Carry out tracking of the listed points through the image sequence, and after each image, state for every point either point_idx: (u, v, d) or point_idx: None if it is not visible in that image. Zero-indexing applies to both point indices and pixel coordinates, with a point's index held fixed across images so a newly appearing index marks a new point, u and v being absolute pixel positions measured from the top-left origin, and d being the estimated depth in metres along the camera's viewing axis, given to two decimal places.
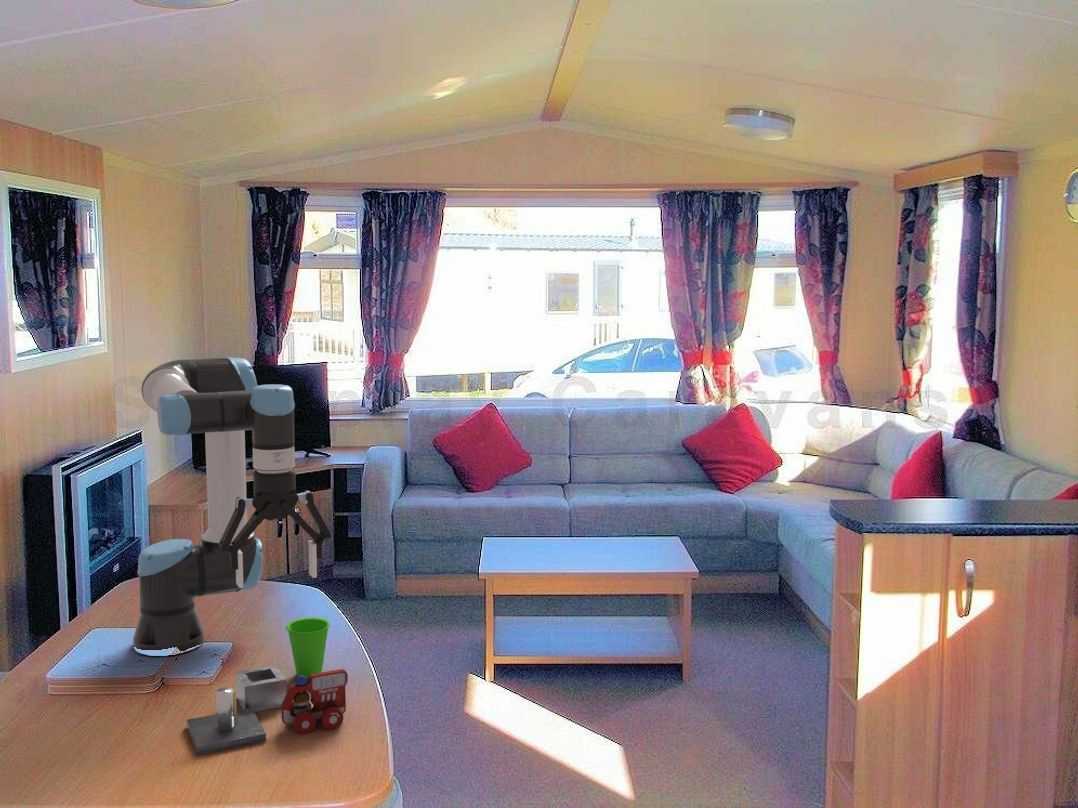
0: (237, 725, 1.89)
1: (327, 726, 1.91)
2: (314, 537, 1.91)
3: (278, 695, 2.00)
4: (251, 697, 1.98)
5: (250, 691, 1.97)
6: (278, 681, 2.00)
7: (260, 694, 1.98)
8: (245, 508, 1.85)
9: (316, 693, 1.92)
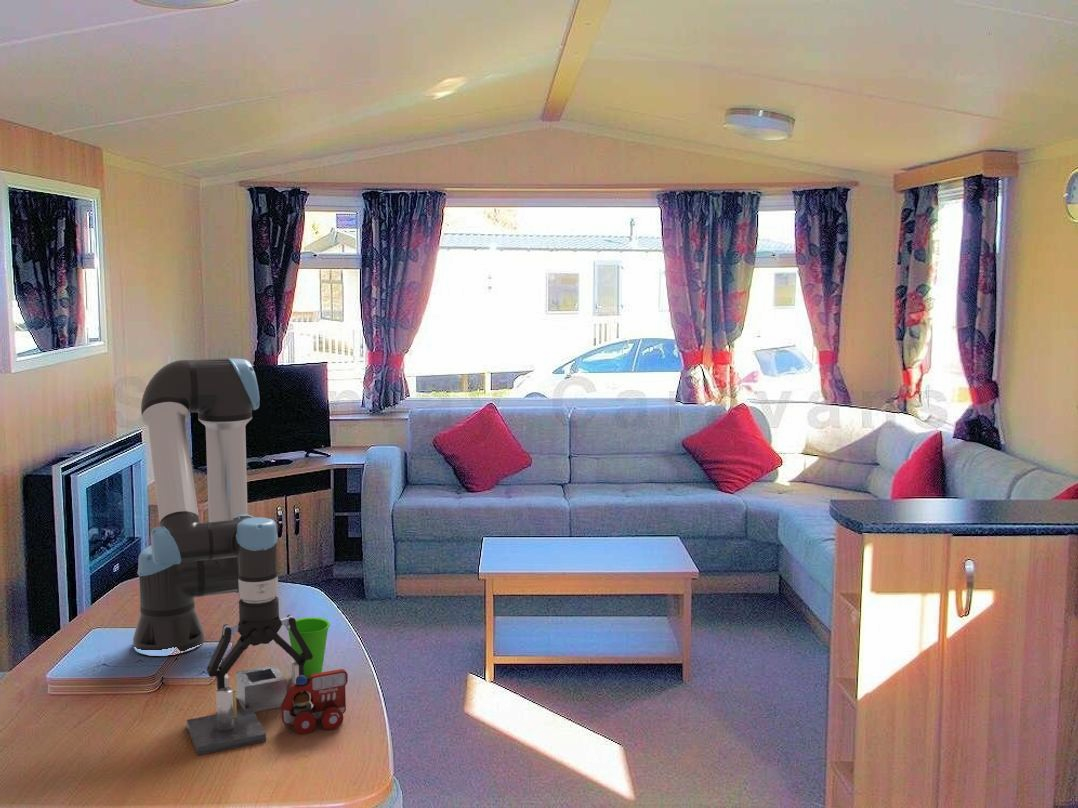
0: (237, 725, 1.89)
1: (327, 726, 1.91)
2: (296, 659, 2.04)
3: (278, 695, 2.00)
4: (251, 697, 1.98)
5: (250, 691, 1.97)
6: (278, 681, 2.00)
7: (260, 694, 1.98)
8: (231, 636, 1.97)
9: (316, 693, 1.92)
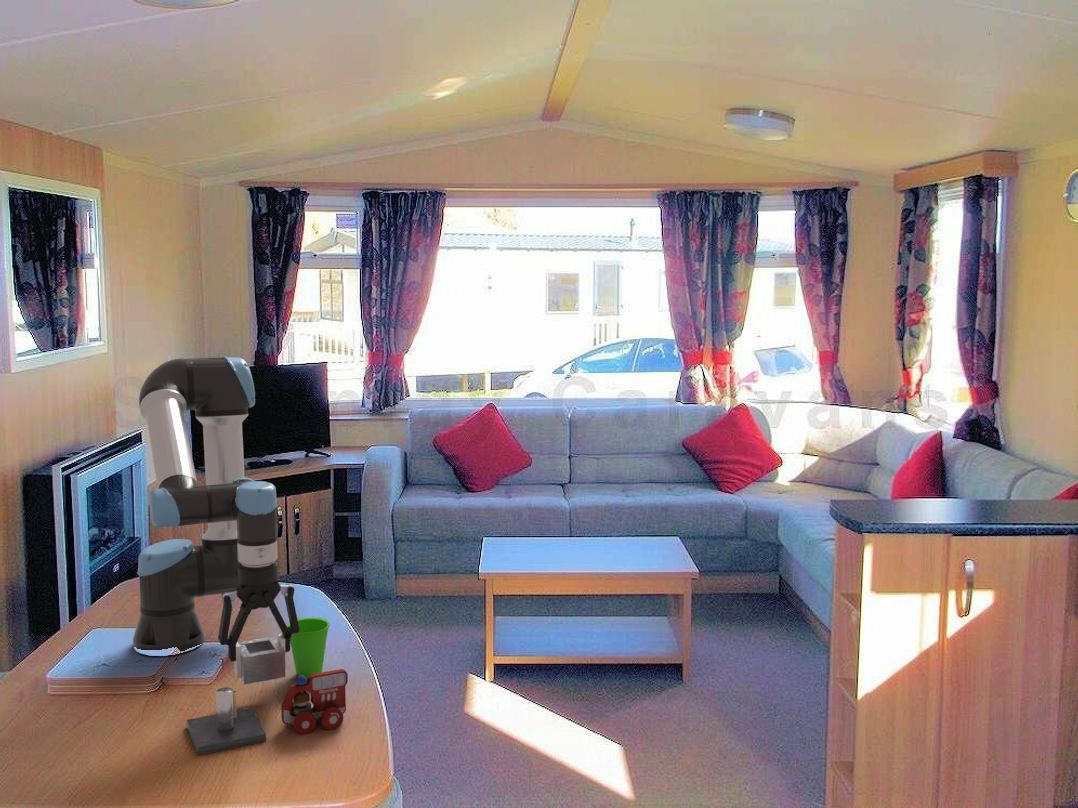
0: (237, 725, 1.89)
1: (327, 726, 1.91)
2: (284, 631, 2.02)
3: (277, 666, 2.00)
4: (250, 668, 1.97)
5: (248, 662, 1.97)
6: (277, 652, 1.99)
7: (259, 665, 1.98)
8: (232, 603, 1.96)
9: (316, 693, 1.92)
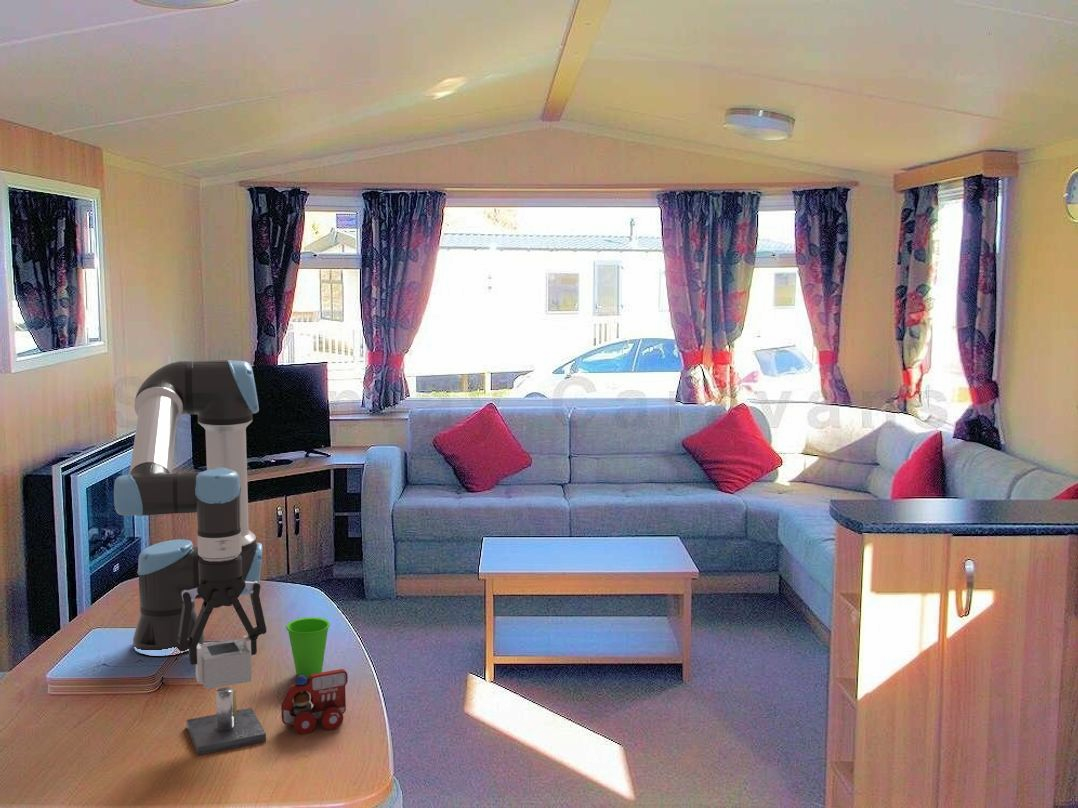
0: (237, 725, 1.89)
1: (327, 726, 1.91)
2: (250, 632, 1.87)
3: (241, 669, 1.84)
4: (212, 671, 1.82)
5: (210, 665, 1.82)
6: (241, 654, 1.84)
7: (222, 668, 1.83)
8: (191, 600, 1.81)
9: (316, 693, 1.92)
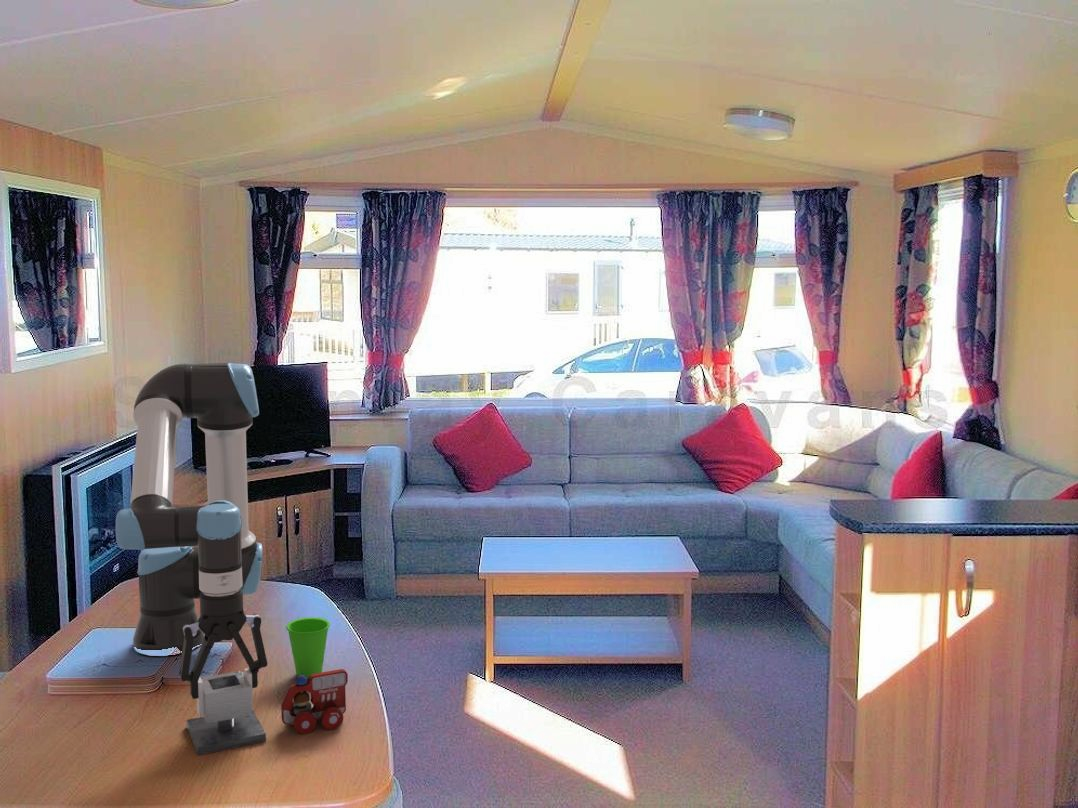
0: (237, 725, 1.89)
1: (327, 726, 1.91)
2: (251, 665, 1.88)
3: (243, 703, 1.85)
4: (213, 705, 1.83)
5: (211, 699, 1.83)
6: (242, 688, 1.85)
7: (223, 702, 1.84)
8: (193, 635, 1.82)
9: (316, 693, 1.92)
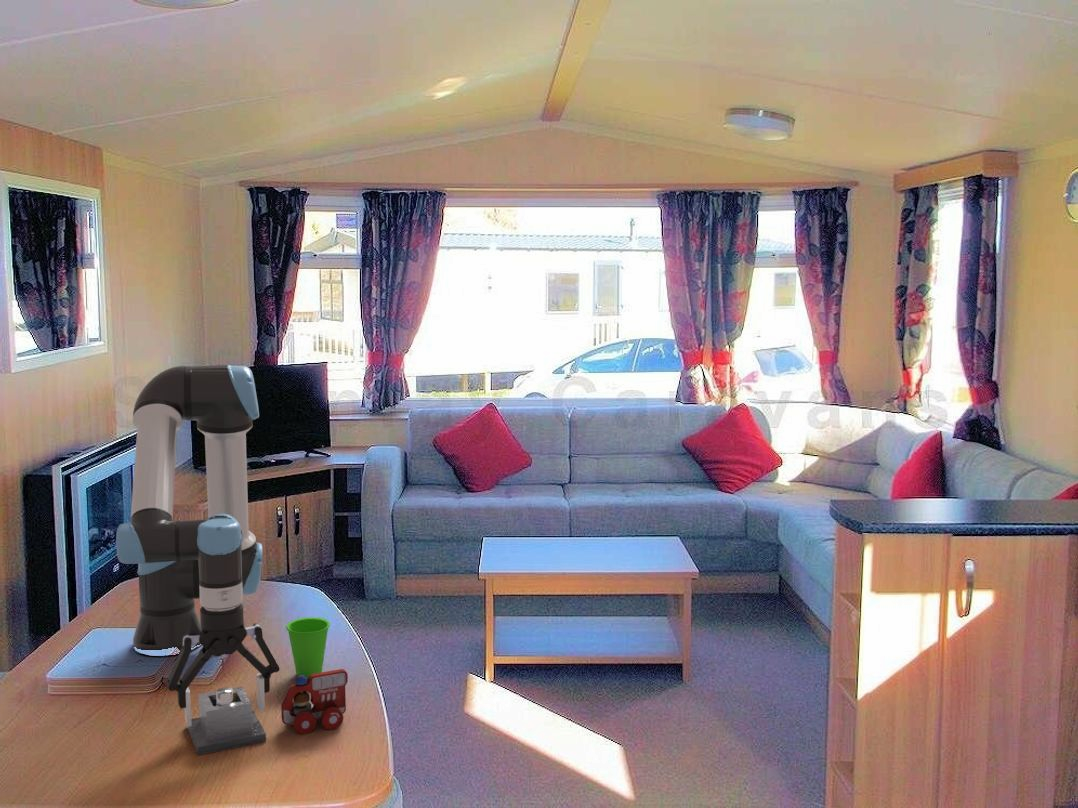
0: None
1: (327, 726, 1.91)
2: (262, 671, 1.89)
3: (243, 720, 1.86)
4: (213, 722, 1.83)
5: (212, 716, 1.83)
6: (243, 705, 1.86)
7: (223, 719, 1.84)
8: (191, 646, 1.83)
9: (316, 693, 1.92)
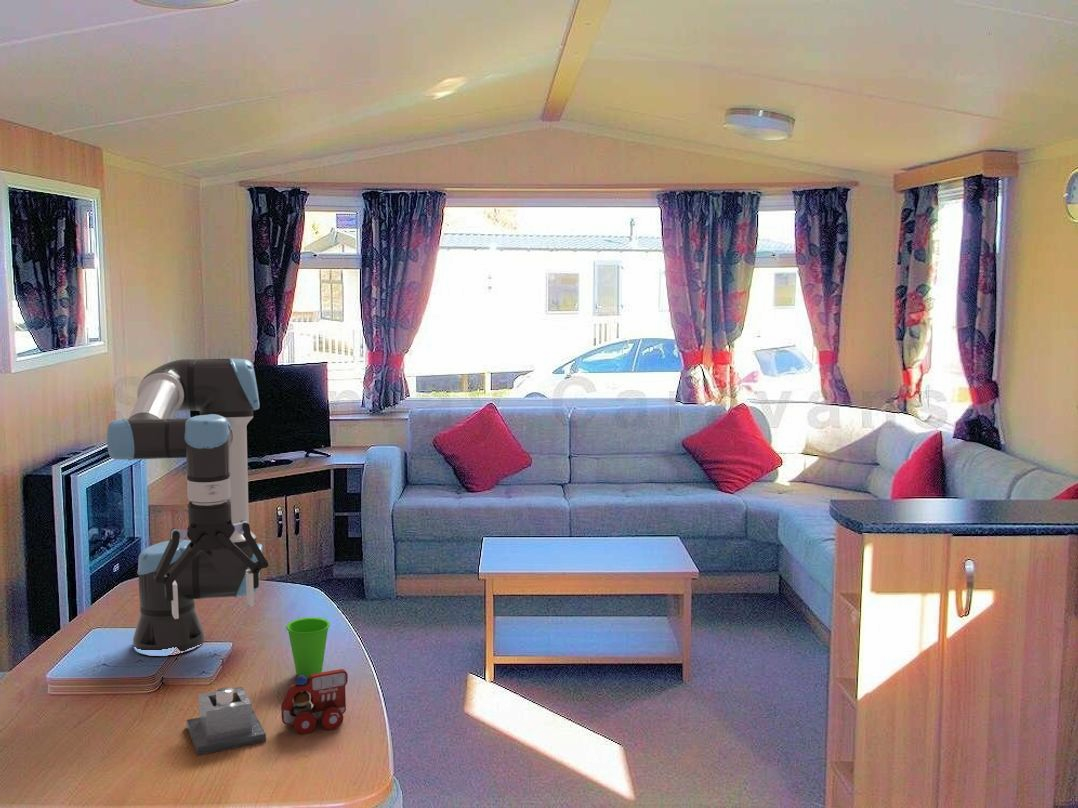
0: None
1: (327, 726, 1.91)
2: (251, 567, 1.91)
3: (243, 720, 1.86)
4: (213, 722, 1.83)
5: (212, 716, 1.83)
6: (243, 705, 1.86)
7: (223, 719, 1.84)
8: (179, 540, 1.84)
9: (316, 693, 1.92)
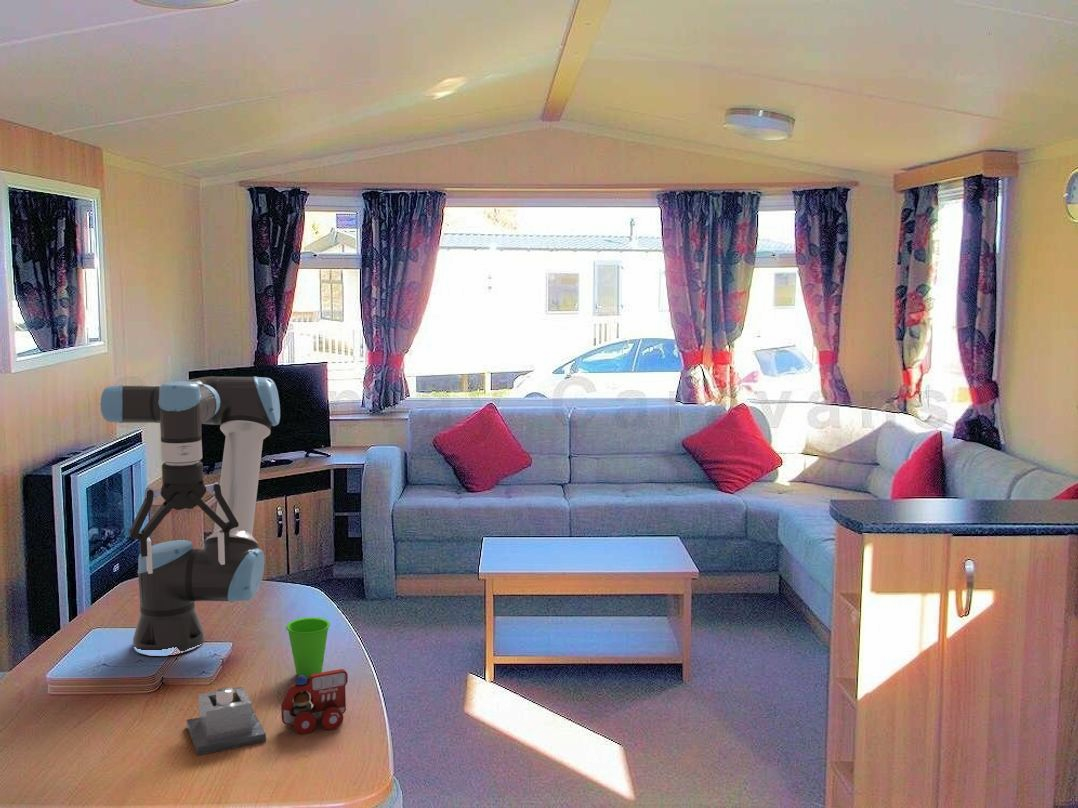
0: None
1: (327, 726, 1.91)
2: (222, 526, 2.02)
3: (243, 720, 1.86)
4: (213, 722, 1.83)
5: (212, 716, 1.83)
6: (243, 705, 1.86)
7: (223, 719, 1.84)
8: (153, 498, 1.95)
9: (316, 693, 1.92)
